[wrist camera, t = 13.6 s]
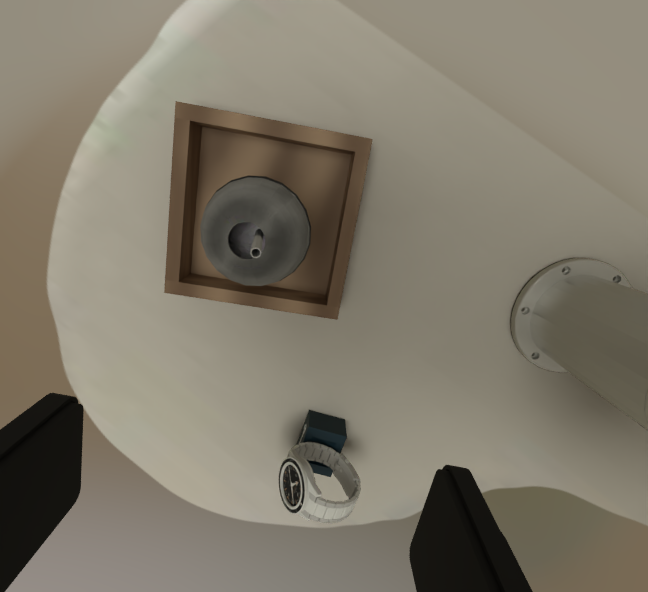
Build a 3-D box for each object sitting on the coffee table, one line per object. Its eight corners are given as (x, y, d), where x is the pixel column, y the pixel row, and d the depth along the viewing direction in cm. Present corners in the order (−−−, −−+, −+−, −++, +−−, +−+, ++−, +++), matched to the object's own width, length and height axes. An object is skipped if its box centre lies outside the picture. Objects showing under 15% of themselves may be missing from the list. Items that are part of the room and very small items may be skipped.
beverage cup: (229, 182, 35) (129, 181, 16) (307, 173, 35) (299, 162, 16) (242, 258, 37) (167, 338, 18) (316, 251, 37) (318, 322, 18)
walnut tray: (365, 144, 36) (372, 139, 31) (334, 304, 40) (337, 319, 36) (193, 111, 34) (175, 101, 30) (181, 280, 39) (164, 292, 35)
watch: (292, 405, 43) (285, 476, 33) (359, 423, 44) (372, 498, 34) (278, 445, 45) (267, 525, 34) (343, 462, 46) (351, 545, 35)
